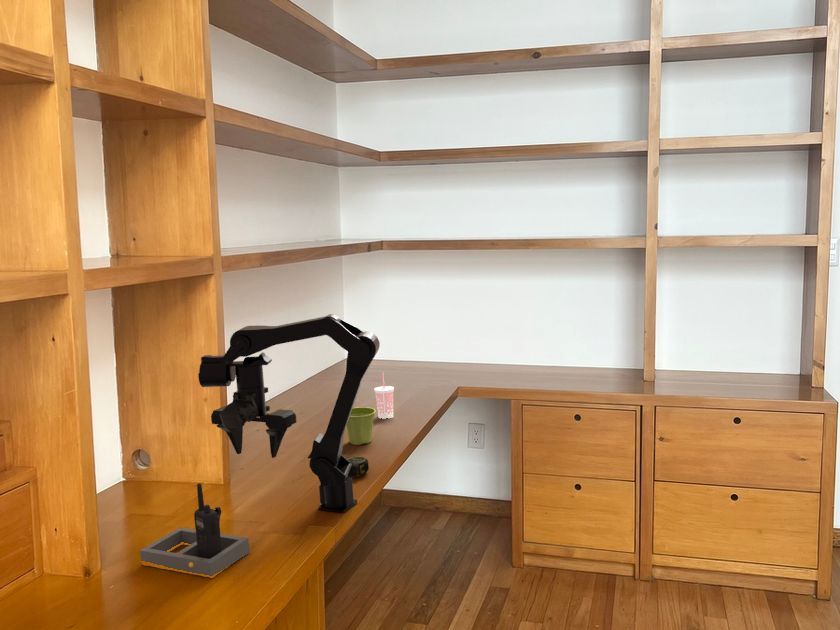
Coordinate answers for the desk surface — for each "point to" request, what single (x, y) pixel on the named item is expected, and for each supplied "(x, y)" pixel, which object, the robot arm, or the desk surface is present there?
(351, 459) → the tape measure
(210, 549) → the two-way radio
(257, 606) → the desk surface
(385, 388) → the beverage cup
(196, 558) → the charging station
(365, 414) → the plant pot
